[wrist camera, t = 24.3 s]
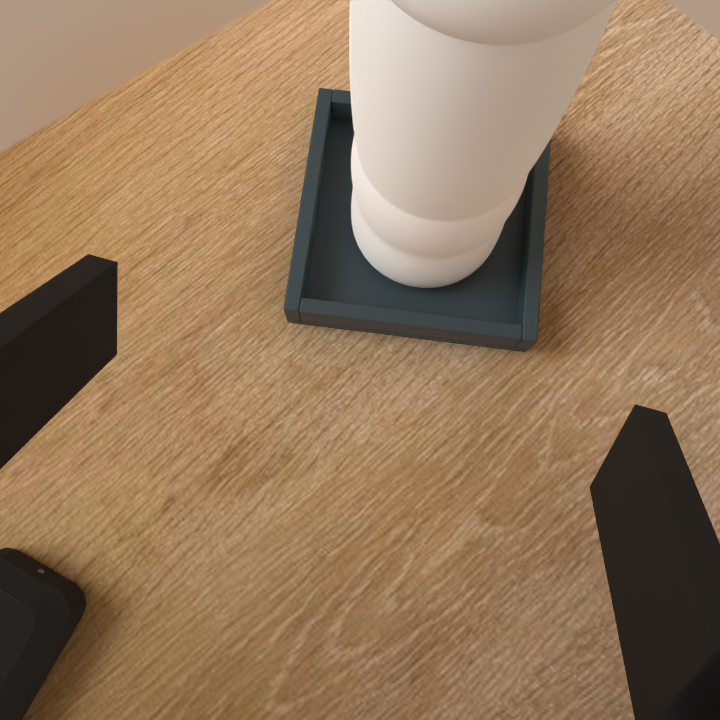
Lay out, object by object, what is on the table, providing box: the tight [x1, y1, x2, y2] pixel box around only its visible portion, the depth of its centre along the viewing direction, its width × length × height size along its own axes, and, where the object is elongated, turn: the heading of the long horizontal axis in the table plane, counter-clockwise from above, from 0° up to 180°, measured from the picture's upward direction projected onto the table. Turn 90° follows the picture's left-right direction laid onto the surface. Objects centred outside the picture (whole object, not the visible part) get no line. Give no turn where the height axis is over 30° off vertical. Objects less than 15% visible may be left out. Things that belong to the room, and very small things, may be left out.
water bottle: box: [349, 0, 617, 288], centre depth 19 cm, size 7×7×25 cm
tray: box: [284, 88, 551, 352], centre depth 31 cm, size 11×11×2 cm
